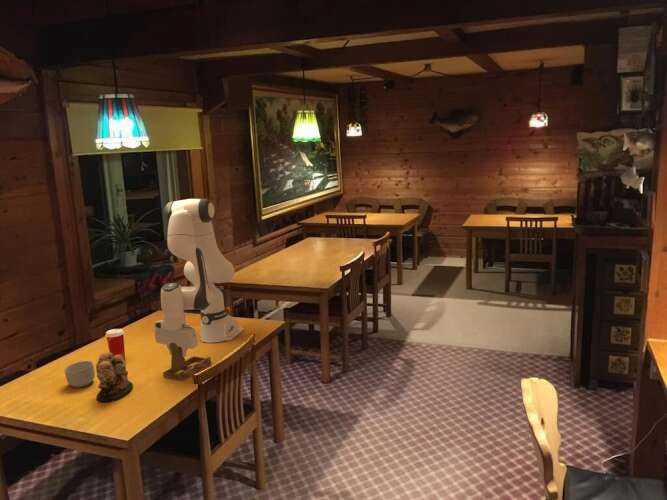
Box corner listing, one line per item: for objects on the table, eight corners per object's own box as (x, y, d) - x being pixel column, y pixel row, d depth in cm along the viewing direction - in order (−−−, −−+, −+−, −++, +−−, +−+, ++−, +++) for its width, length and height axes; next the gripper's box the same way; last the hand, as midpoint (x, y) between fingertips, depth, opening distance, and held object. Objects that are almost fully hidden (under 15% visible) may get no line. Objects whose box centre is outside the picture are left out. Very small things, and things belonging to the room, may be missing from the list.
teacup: (92, 388, 222) (89, 369, 220) (63, 391, 220) (60, 372, 219) (100, 374, 236) (97, 356, 234) (73, 377, 234) (70, 359, 232)
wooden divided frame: (193, 360, 245) (192, 351, 244) (211, 363, 241) (210, 354, 240) (163, 377, 229) (162, 367, 228) (181, 380, 225) (180, 371, 224)
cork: (181, 369, 227) (179, 344, 224) (168, 369, 228) (165, 343, 226) (188, 364, 232) (186, 338, 230) (175, 363, 234) (173, 338, 232)
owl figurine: (119, 404, 207) (113, 361, 204) (89, 405, 208) (82, 362, 205) (139, 382, 225) (133, 342, 222) (110, 383, 226) (104, 343, 222)
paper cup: (115, 357, 253) (111, 328, 251) (131, 357, 252) (127, 328, 249) (105, 364, 246) (101, 334, 243) (121, 364, 244) (117, 334, 241)
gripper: (199, 323, 225) (202, 356, 227) (161, 318, 234) (165, 349, 237) (188, 328, 219) (192, 361, 222) (150, 323, 229) (154, 354, 231)
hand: (178, 355), depth 229 cm, fingers closed on cork, 4 cm apart
